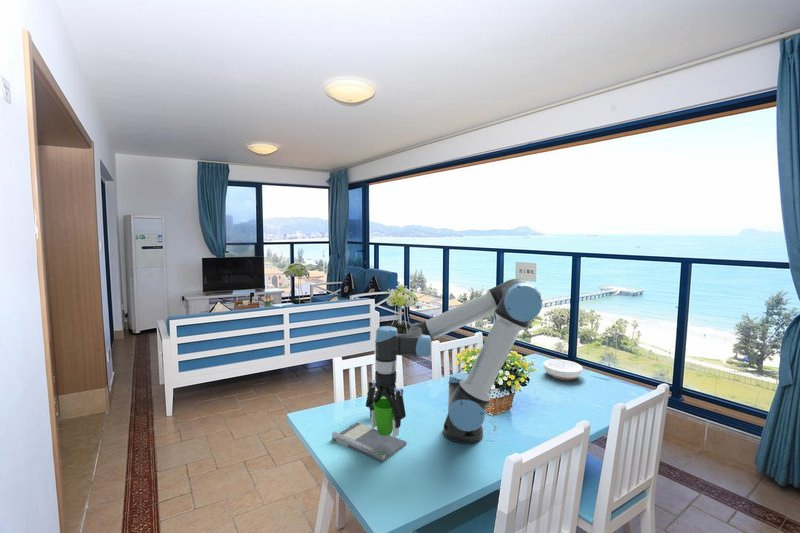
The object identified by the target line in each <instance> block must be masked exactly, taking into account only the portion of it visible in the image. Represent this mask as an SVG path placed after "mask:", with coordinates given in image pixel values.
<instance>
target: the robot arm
mask: <svg viewBox="0 0 800 533" xmlns="http://www.w3.org/2000/svg"><path fill="white" fill-rule="evenodd" d="M542 307H543V300H542V296H541V294H540V292H539V291H538V289H537V288H536V287H535V286H533V285H531V284H530V283H528V282H527V281H525V280H523V279H522V278H521V279H520V278H512V279H509V280H506V281H504V282H502V283H500V284H498V285H496V286H494V287H491V288H489V289H488V290H487V292H486V293H485V294H483V295H481V296H477V298H473V299H472V300H470V301H467V302H466V303H461V304H460V305H458V306H455V307H453V308H451V309H448V310H446V311H444V312H442V313H440V314H438V315H435V316H433V317H432V318H429V319H426V320H424V321H422V322H420V323H419V322H415V323H413V324H412V325H411V326H410V327H408V330H407V333H398V329H397V327H396V326H390V325H384V326H380V327H378V328H377V329H376V331H375V341H374V342H375V362H374V366H375V367H374V369H375V372H374V379H375V380H371V381H369V382H368V391H367V393H368V395H367V396H366V397H367V398H366V402H365V407H366V408H368V409H369V416H370V418H371V421H370V422H371V423H370V424H371V425H370V427H371V428H372V429H375V428H377V424H376V417H375V411H374V406H373V402H374V401H375V403H377V402H378V401H379V400H380V398H381V396H384V397H386V398H387V400H388V401H389V403H390V406H391V408H393V409H392V412H393V415H394V417H395V418H394V419H393V430H392V435H391V436H392V437H396V438H397V436H399V434H400V427H401V425H402V424H401V421H402V419H404V418H406V417H407V415H406V409H405V402H404V396H403V395H404V390H403V389H402V388H397V386H396V383H397V360H398V359H397V356H402V357H403V356H406V357H417V358H423V357H424V358H427V357H430V356H431V352H432V340H435V339H437V338H439V337H442V336H444V335H446V334H449V333H451V332H453V331H455V330H458V329H460V328H463V327H465V326H468V325H470V324H472V323H475V322H477V321H479V320H481V319H484V318H486V317H488V316H491V315H493V314H494V315H495V321H494V323H493V325H492V327H491V329H490V331H489V333H488V335H487V336H486V339H485V341H484V343H483V345H482V347H481V349H480V351H479V353H478V355H477V357H476V359H475V361H474V363H473V365H472V367H471V369H470V371H469V373H465V372H464V373H463V372H456V373H453V374H451V375H449V377H448V404H447V407H448V408H447V409H448V410H447V412H448V413H447V415H446V417H445V421H444V423H443V428H442V429H443V431H442V433H443V435H444V436H445V438H447V439H448V440H450V441H452V442H455V443H459V444H473V443H477V442H480V440H482V439H483V436H484V428H483V424H484V421H485V418H486V417H485V416H486V415H485V414H486V413H485V411H486V409H487V407H488V405H489V404H490V401H491V399H492V397H491V394H490V390H491V389H492V387H493V385H494V383H495V381H496V378H498V375H499V373H500V371H501V370H502V368H503V366H504V363H505V361H506V360H507V358H508V355H509V353H510V352H511V350H512V348H513V346H514V343H515V342H516V340H517V337H518V335H519V334H520V332H521V331H524V330H526V329H528V327H529V325H530V323H531V321H532V320H534V319H535V318H536V317H538V315H539V314H540V313H541V310H542ZM375 391H377V392H376V394H375ZM374 394H375V395H374ZM390 396H392V397H390Z"/></svg>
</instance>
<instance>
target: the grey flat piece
mask: <svg viewBox="0 0 800 533" xmlns="http://www.w3.org/2000/svg"><path fill="white" fill-rule="evenodd" d="M331 434H332V435H331V440H332V441H334V442H336V443H338V444H341V445H343V446H345V447H347V448H349V449H352V450H354V451H356V452H358V453H360V454H362V455H365V456H367V457H369V458H372V459H374V460H375V461H377V462H380V463H381V464H382V463H384V462H385V461H387V460H388V459H389V458H391V457H392V456H394V455H395V454H397V452H399V451H400V450H401V449H403V448H404V447H405V446H407V441H405V440H403V439H401V438H397V436H396V437H392V435H391V434H390V435H388V436H382V435H379V434H378V431H377V428H376V429H375V428H373V429H372V428H371V426H367V425H365V424H363V423H361V422H359V421H358V422H355V423H354V424H352V425H351V426H349V427H348V428H346V429H344V430H342V431H340V432H337V431H334V432H332V433H331Z"/></svg>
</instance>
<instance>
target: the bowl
mask: <svg viewBox="0 0 800 533" xmlns="http://www.w3.org/2000/svg"><path fill="white" fill-rule="evenodd" d="M543 369H544V371H545V372H546V373H547V374H548V375H549V376H551V377H553V378H554V379H557V380H561V381H571V380H575V379H577V378H578V377H580V376H581V375H582V374H583V370H584V368H583V366H582V365H580V364H579V363H577V362H575V361H571V360H566V359H558V358H552V359H547V360H545V361H543Z"/></svg>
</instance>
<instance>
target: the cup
mask: <svg viewBox="0 0 800 533" xmlns="http://www.w3.org/2000/svg"><path fill="white" fill-rule="evenodd" d="M373 406H374V411H375V417H376V424H377V426H376V430H377V431H378V434H379V435H382V436H388V435H391V434H393V419H394V418H395V417H394V415H393V412H392V409H393V408H391V406H390V403H389V401H388V400H387V398H380V400H379V401H378V402H377V403H375V401H374V402H373Z"/></svg>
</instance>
